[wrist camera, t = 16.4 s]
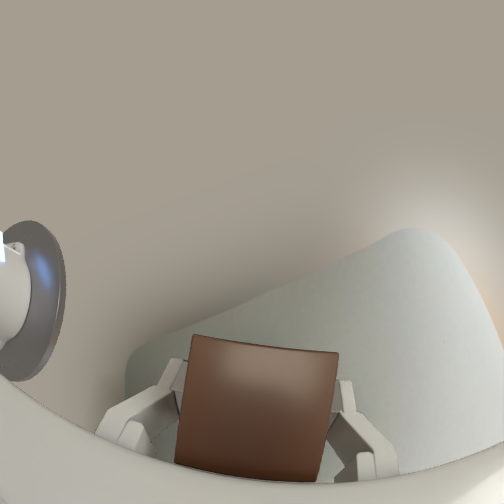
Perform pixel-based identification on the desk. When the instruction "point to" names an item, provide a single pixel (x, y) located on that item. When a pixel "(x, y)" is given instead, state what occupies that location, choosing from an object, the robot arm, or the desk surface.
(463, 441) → the desk surface
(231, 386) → the walnut block
